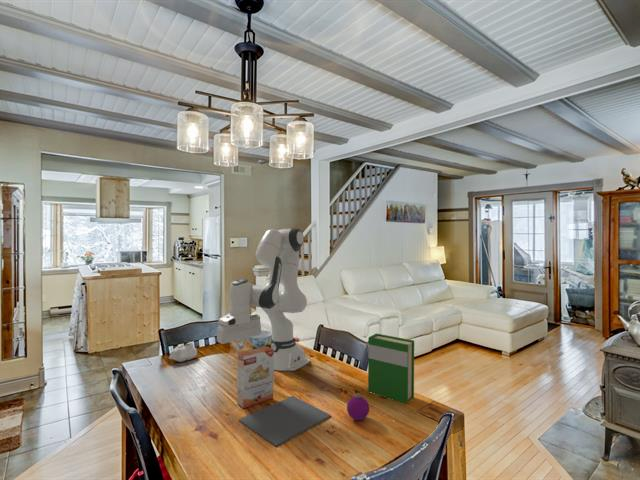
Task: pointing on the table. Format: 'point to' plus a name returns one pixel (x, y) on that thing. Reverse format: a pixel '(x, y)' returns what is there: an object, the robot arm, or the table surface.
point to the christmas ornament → (358, 407)
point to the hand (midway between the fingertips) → (240, 349)
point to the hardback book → (391, 367)
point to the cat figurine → (183, 352)
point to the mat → (284, 420)
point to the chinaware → (261, 339)
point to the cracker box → (255, 376)
